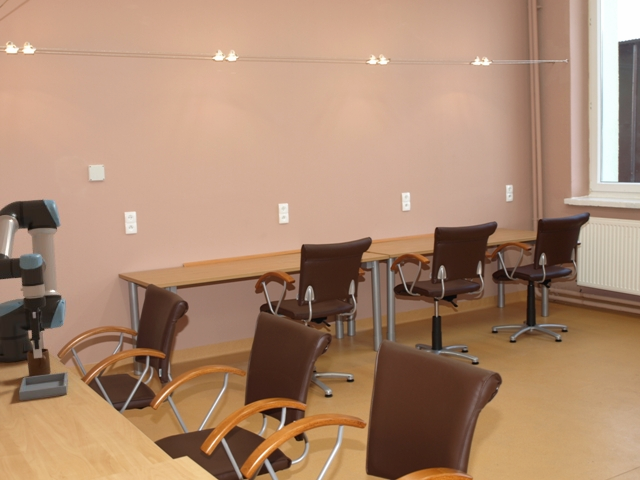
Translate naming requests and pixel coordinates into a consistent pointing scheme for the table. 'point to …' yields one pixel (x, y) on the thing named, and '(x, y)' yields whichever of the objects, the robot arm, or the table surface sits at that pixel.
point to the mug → (38, 363)
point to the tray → (43, 386)
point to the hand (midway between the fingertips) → (39, 353)
